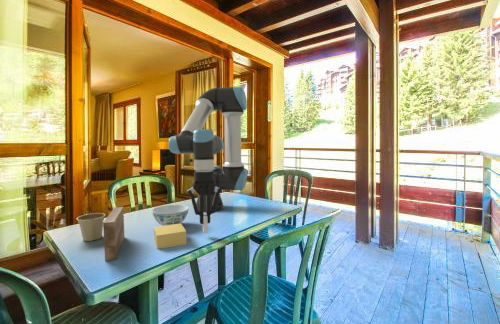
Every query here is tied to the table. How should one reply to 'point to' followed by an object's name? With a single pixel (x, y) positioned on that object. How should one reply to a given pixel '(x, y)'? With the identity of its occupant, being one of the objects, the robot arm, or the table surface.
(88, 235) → the flower pot
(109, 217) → the walnut board
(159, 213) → the chinaware
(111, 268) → the table surface
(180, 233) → the mustard block
